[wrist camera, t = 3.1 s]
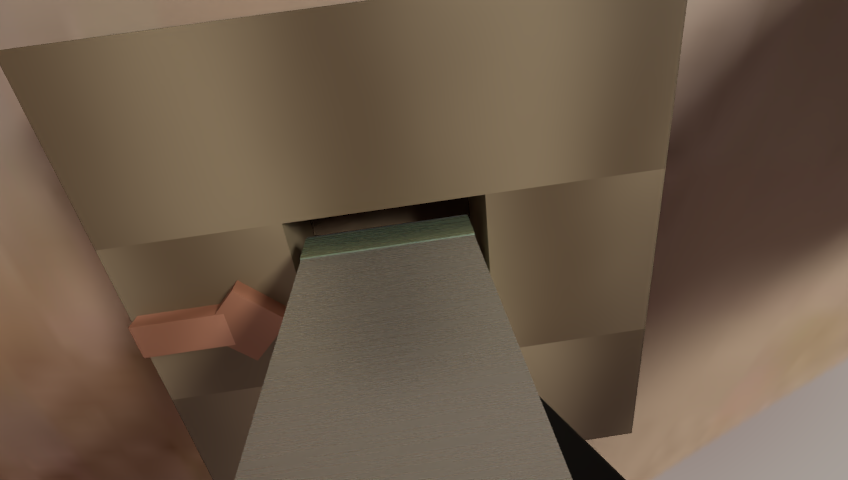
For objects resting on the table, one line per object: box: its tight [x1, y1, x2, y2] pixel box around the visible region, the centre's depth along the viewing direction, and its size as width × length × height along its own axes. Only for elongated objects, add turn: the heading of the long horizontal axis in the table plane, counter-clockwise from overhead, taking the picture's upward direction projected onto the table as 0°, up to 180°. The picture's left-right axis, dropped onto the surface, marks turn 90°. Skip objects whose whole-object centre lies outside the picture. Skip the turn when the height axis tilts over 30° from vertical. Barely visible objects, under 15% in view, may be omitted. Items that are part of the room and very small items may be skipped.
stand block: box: [0, 0, 687, 480], centre depth 14 cm, size 14×14×4 cm
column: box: [235, 215, 573, 480], centre depth 9 cm, size 4×4×8 cm
